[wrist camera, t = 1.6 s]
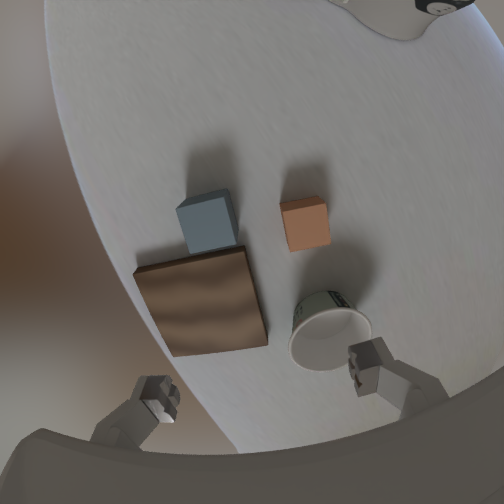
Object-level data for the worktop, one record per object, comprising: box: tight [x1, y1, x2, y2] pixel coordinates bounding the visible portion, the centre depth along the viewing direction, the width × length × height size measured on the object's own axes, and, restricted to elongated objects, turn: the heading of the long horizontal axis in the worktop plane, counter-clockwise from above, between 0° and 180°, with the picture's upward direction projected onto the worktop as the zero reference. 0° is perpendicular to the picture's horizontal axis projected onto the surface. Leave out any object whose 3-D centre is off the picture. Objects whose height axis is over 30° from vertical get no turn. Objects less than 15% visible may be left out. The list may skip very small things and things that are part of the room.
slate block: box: [176, 189, 238, 254], centre depth 32 cm, size 6×6×5 cm
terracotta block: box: [280, 196, 331, 252], centre depth 33 cm, size 5×5×4 cm
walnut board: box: [133, 246, 268, 357], centre depth 39 cm, size 16×16×2 cm
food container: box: [288, 291, 372, 372], centre depth 37 cm, size 12×12×7 cm
